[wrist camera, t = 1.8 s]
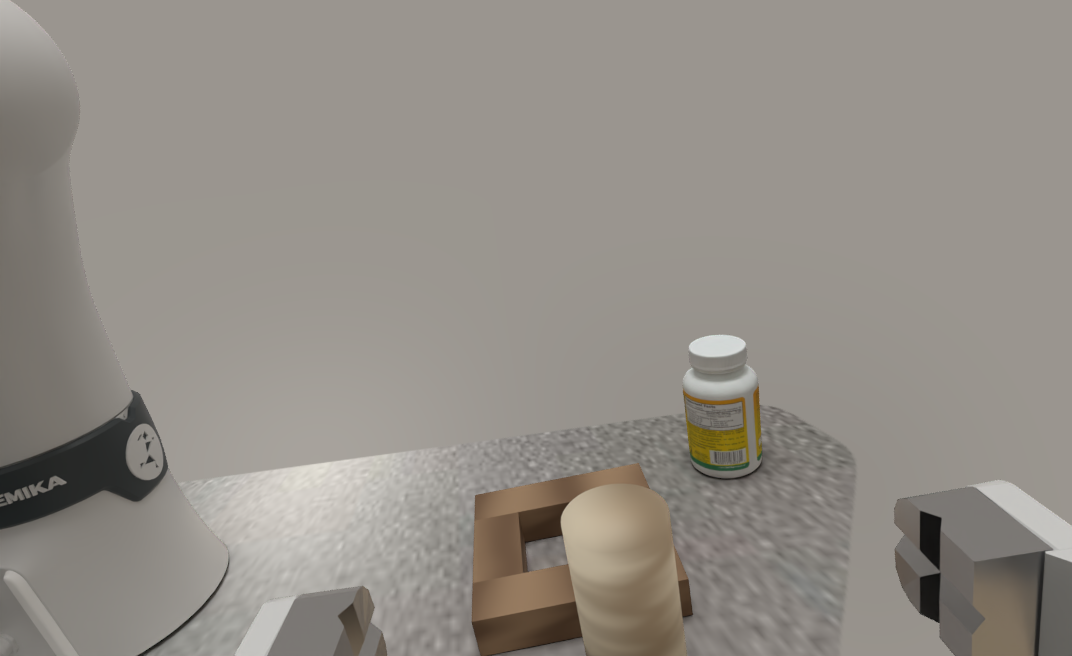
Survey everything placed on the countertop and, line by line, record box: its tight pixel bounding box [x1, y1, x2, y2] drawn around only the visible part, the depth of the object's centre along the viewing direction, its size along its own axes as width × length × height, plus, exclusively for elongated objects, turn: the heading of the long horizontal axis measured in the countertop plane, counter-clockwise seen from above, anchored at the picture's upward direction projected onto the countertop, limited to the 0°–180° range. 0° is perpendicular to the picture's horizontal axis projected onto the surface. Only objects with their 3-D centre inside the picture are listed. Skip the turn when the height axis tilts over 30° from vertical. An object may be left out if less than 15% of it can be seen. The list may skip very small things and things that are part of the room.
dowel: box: [561, 484, 687, 656], centre depth 28 cm, size 4×4×12 cm
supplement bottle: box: [683, 335, 762, 478], centre depth 47 cm, size 5×5×10 cm
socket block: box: [472, 463, 693, 656], centre depth 41 cm, size 12×12×2 cm
